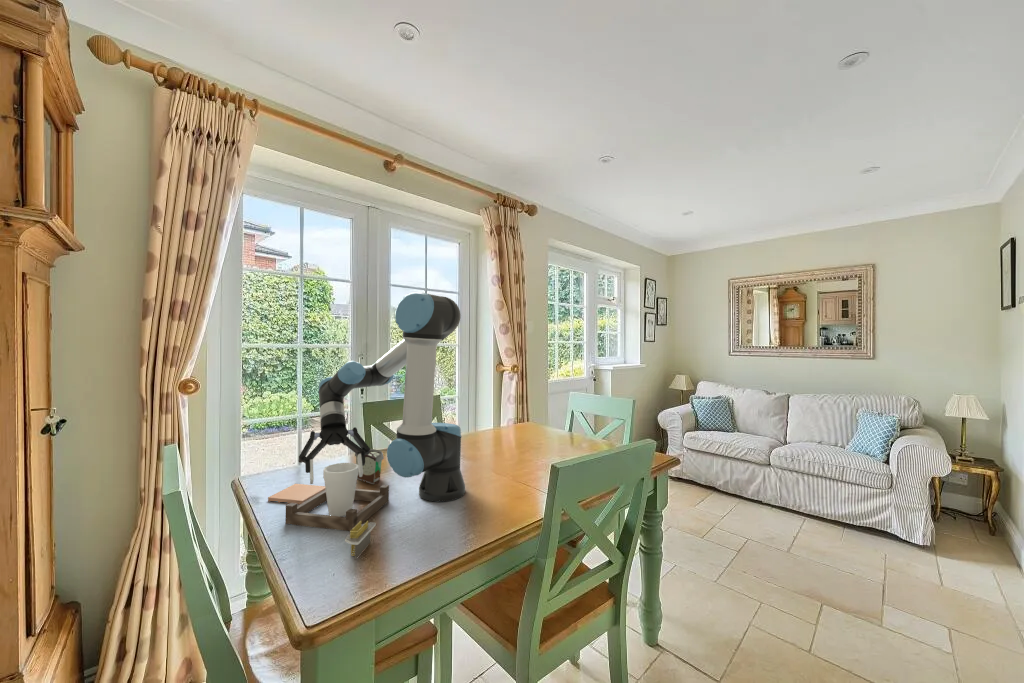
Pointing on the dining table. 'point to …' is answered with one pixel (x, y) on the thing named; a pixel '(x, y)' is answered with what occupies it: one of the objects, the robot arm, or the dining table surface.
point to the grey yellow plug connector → (360, 537)
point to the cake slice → (371, 466)
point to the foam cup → (340, 487)
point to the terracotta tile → (297, 493)
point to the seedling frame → (303, 518)
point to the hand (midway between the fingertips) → (337, 478)
